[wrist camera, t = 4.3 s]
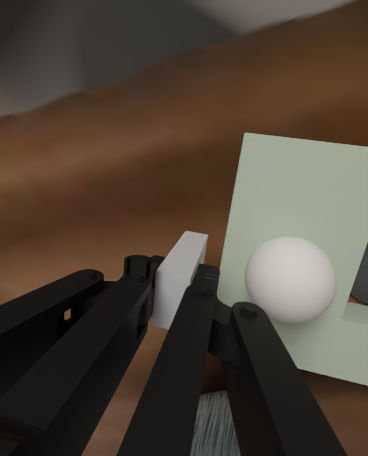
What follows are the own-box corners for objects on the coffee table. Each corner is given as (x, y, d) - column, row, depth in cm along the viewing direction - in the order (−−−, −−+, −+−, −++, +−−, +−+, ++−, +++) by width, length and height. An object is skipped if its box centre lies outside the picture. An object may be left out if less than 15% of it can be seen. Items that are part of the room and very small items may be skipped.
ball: (237, 287, 19) (238, 330, 14) (251, 221, 17) (257, 243, 13) (309, 302, 18) (336, 353, 13) (330, 234, 17) (368, 264, 12)
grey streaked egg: (164, 490, 25) (151, 612, 15) (155, 381, 27) (140, 428, 18) (302, 472, 25) (374, 580, 16) (282, 365, 28) (334, 403, 18)
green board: (209, 323, 23) (205, 345, 20) (243, 136, 19) (244, 132, 16) (433, 375, 21) (464, 409, 18) (532, 171, 16) (595, 173, 13)
